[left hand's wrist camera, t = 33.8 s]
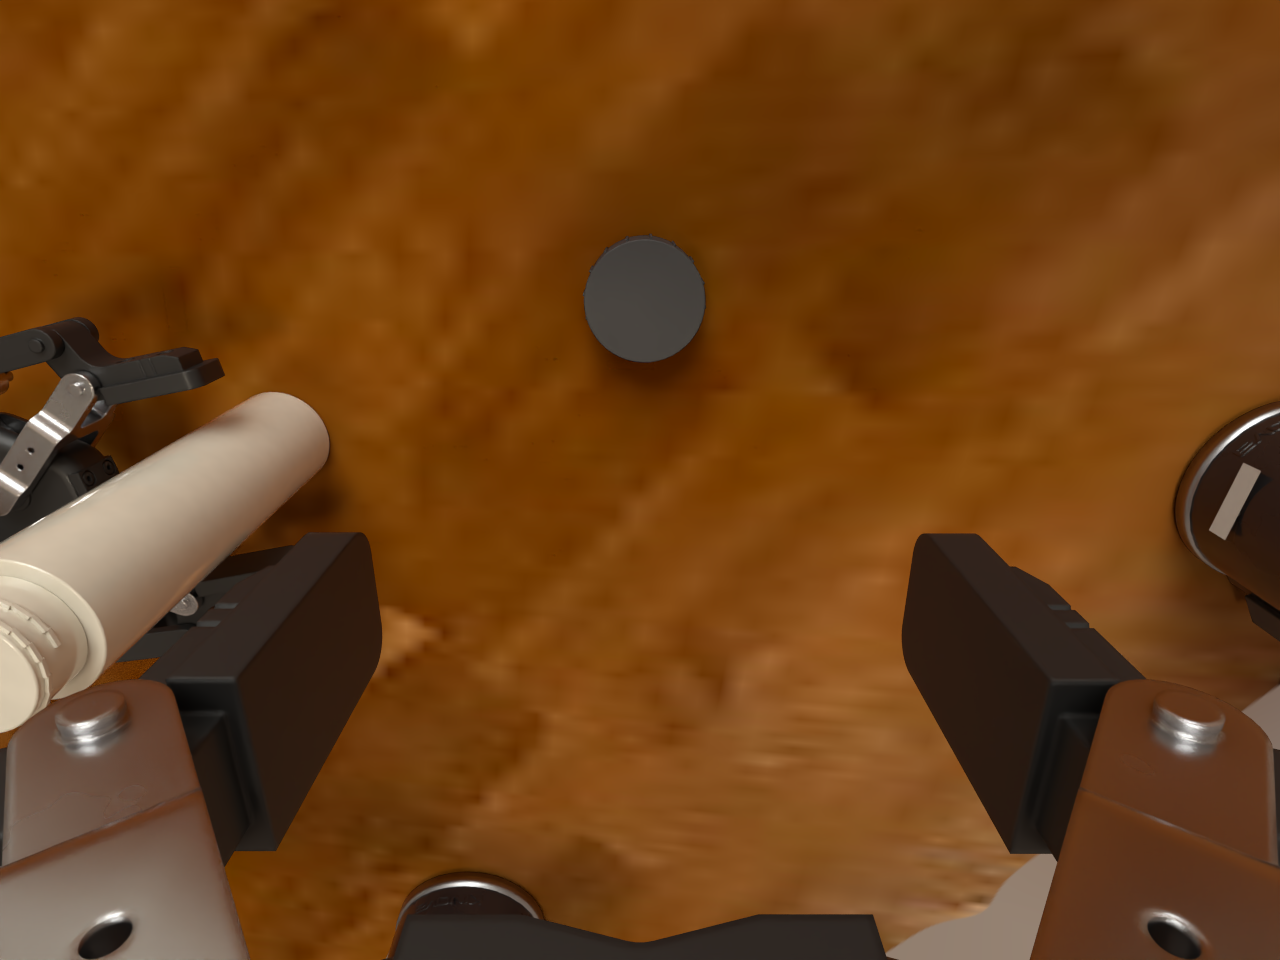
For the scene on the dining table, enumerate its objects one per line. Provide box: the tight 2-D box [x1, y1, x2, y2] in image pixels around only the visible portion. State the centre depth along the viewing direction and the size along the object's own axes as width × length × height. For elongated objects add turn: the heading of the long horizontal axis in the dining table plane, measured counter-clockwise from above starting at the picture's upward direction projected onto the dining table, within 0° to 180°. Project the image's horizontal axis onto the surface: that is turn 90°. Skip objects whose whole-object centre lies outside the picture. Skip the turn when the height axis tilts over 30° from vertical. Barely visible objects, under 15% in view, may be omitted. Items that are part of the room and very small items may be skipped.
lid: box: [583, 234, 706, 362], centre depth 33 cm, size 5×5×2 cm
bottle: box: [0, 392, 329, 733], centre depth 28 cm, size 5×5×19 cm
